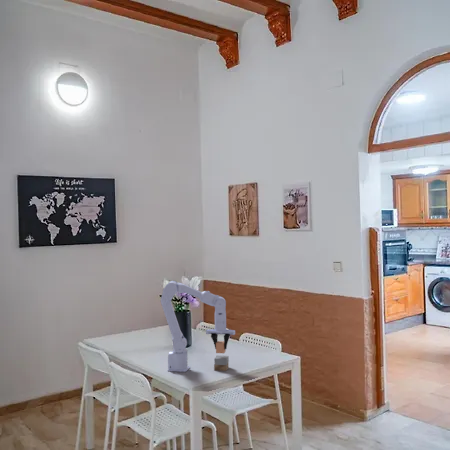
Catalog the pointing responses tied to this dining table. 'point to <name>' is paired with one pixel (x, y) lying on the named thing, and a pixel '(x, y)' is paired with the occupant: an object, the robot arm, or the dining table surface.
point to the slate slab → (221, 360)
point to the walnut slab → (221, 367)
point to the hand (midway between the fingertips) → (220, 348)
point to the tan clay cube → (220, 347)
